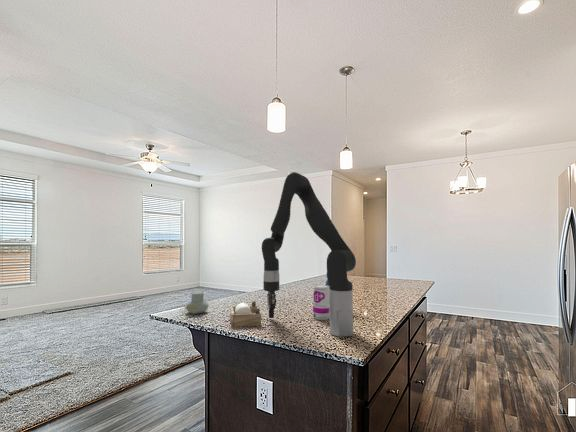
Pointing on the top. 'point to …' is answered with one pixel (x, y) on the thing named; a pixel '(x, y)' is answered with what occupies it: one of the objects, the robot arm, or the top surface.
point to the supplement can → (321, 302)
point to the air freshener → (197, 303)
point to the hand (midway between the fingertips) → (271, 317)
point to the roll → (242, 309)
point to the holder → (246, 317)
